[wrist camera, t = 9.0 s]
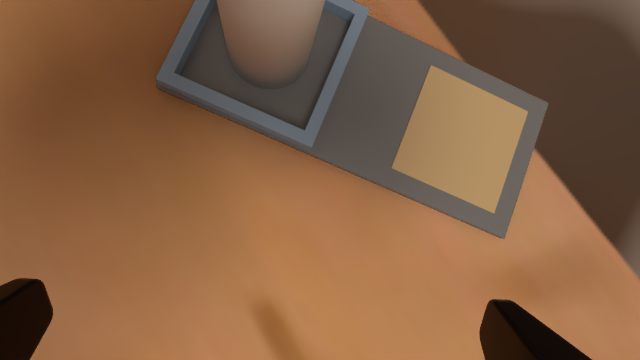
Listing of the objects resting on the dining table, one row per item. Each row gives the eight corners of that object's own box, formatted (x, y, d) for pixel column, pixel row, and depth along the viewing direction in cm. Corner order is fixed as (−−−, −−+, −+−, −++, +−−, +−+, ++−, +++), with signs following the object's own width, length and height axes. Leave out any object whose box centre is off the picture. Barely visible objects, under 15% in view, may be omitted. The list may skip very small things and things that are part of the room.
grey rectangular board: (544, 104, 21) (559, 98, 20) (500, 238, 20) (514, 239, 19) (226, -49, 19) (224, -66, 18) (157, 88, 18) (150, 80, 17)
